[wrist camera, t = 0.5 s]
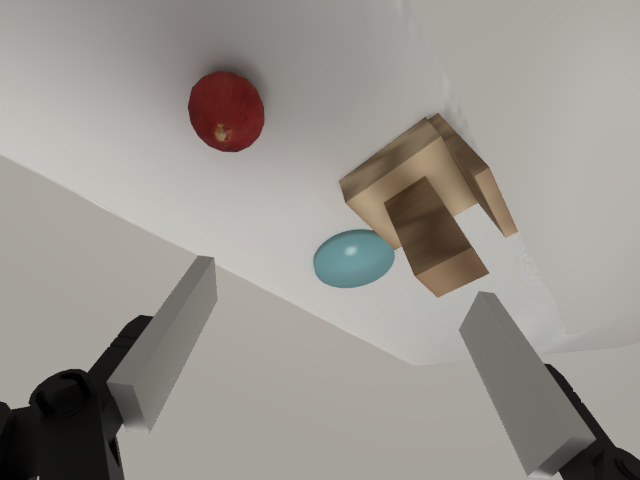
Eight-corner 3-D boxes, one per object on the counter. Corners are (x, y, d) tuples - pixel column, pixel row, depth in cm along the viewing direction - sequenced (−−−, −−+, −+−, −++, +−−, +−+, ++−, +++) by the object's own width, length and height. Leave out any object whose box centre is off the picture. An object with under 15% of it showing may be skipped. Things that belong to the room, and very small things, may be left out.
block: (404, 226, 35) (437, 297, 28) (383, 202, 32) (414, 276, 25) (443, 202, 33) (489, 273, 26) (425, 175, 30) (471, 247, 23)
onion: (265, 129, 29) (264, 176, 23) (203, 126, 28) (186, 173, 22) (264, 62, 25) (262, 99, 19) (191, 55, 24) (167, 92, 18)
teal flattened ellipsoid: (309, 236, 40) (310, 242, 39) (396, 224, 40) (399, 230, 40) (317, 286, 49) (318, 292, 48) (388, 276, 49) (390, 282, 48)
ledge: (386, 228, 41) (410, 288, 34) (339, 181, 34) (357, 243, 27) (471, 176, 36) (519, 234, 29) (436, 109, 29) (487, 163, 22)
